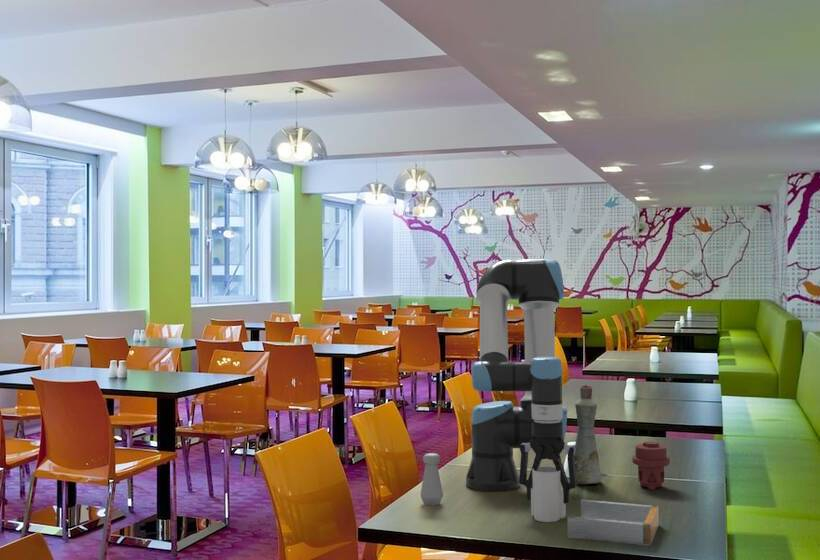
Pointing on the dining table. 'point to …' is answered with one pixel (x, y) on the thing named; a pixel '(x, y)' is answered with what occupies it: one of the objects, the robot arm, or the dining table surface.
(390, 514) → the dining table surface
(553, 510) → the mug
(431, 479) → the salt shaker
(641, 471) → the mechanical component
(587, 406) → the bottle
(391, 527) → the dining table surface
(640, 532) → the channel
